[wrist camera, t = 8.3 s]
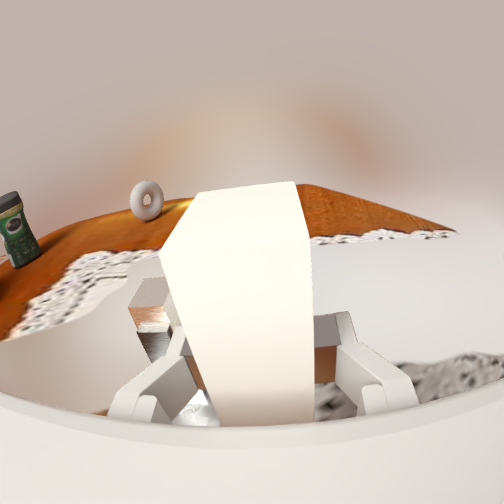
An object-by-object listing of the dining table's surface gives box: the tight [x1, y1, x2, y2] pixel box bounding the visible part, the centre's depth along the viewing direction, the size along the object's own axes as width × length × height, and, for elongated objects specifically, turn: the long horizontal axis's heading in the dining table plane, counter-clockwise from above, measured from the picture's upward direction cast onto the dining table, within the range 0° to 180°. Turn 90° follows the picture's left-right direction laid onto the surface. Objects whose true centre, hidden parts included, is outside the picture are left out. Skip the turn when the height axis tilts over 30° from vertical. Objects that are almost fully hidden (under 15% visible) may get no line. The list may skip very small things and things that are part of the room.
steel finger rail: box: [128, 277, 223, 427], centre depth 21 cm, size 20×8×12 cm, turn 177°
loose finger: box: [159, 181, 314, 427], centre depth 11 cm, size 5×3×12 cm, turn 177°
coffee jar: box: [0, 191, 41, 268], centre depth 63 cm, size 10×8×19 cm
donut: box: [130, 180, 164, 221], centre depth 74 cm, size 10×3×10 cm, turn 147°
